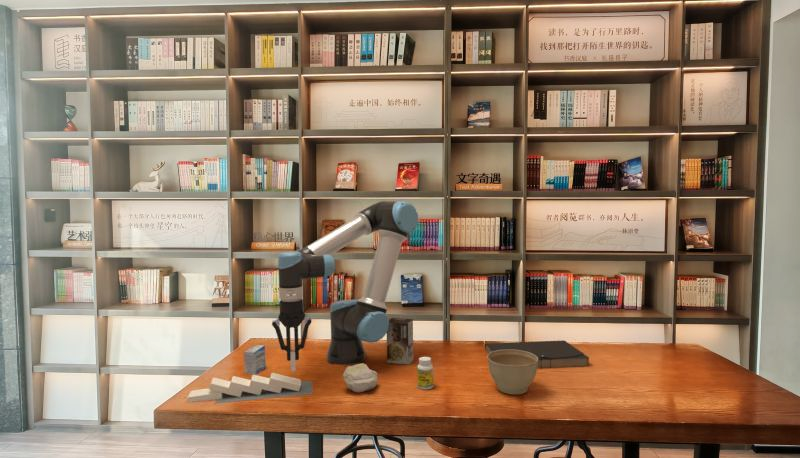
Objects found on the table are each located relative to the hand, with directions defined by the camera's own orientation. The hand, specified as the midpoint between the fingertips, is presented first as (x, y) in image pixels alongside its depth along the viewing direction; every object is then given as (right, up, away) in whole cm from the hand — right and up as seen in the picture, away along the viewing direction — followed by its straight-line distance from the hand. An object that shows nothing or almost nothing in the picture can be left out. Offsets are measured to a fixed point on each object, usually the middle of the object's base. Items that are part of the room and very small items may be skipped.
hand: (293, 369), depth 157 cm
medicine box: (-18, -6, +18) cm, 26 cm away
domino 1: (-22, -6, -4) cm, 23 cm away
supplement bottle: (+44, -6, +2) cm, 44 cm away
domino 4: (-4, -6, 0) cm, 7 cm away
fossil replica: (+23, -7, 0) cm, 24 cm away
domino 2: (-16, -6, -3) cm, 17 cm away
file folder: (+88, -4, +29) cm, 92 cm away
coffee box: (+35, -5, +26) cm, 44 cm away
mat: (-9, -7, -1) cm, 11 cm away
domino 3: (-10, -6, -2) cm, 12 cm away
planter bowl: (+72, -6, -1) cm, 72 cm away
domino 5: (+2, -6, +1) cm, 6 cm away
